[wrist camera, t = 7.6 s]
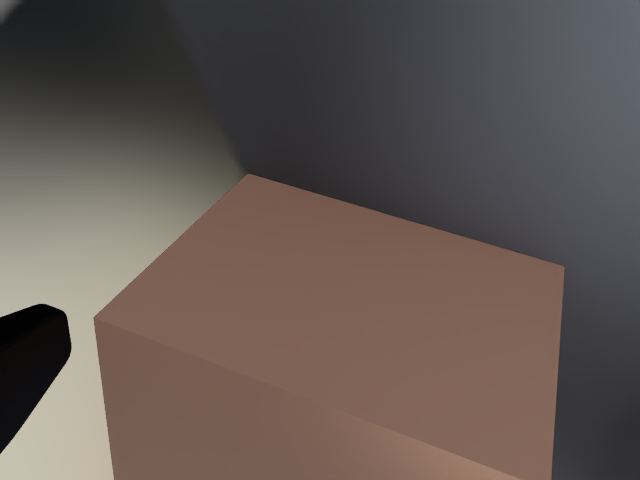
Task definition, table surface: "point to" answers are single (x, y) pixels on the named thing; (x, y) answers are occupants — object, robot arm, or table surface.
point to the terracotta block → (330, 349)
